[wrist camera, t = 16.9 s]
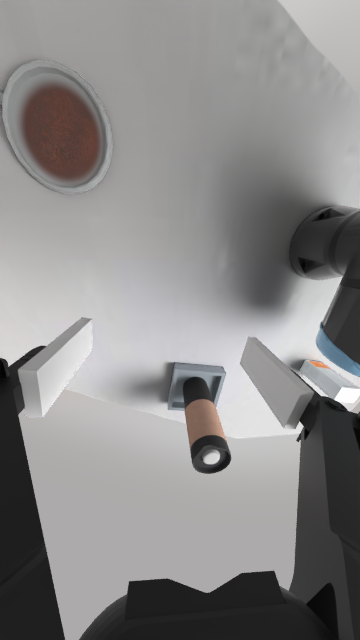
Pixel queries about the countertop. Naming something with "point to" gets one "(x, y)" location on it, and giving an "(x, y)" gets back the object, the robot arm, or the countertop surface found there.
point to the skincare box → (330, 381)
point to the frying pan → (57, 126)
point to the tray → (185, 371)
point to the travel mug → (204, 428)
